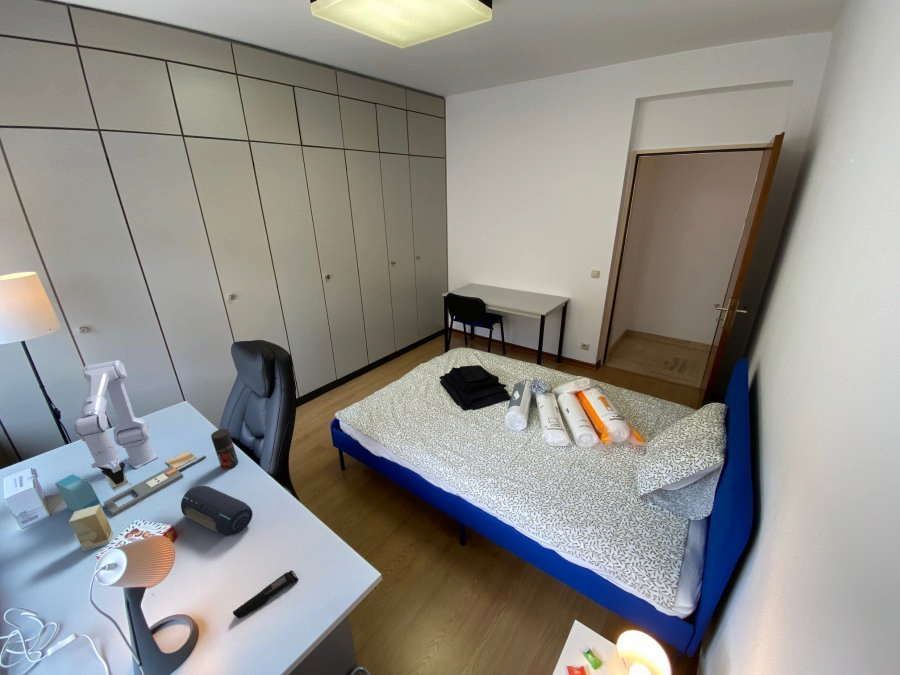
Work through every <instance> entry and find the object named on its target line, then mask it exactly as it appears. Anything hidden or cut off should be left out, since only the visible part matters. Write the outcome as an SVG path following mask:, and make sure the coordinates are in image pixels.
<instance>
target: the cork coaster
mask: <svg viewBox="0 0 900 675" xmlns="http://www.w3.org/2000/svg"><path fill="white" fill-rule="evenodd" d="M197 458H198V457H197V456H196V455H195V454H193V453H192V452H190V451H189V450H186V451H184V452H181V453H180V454H178V455H176V456H174V457H172V458H170V459H168V460H167V461H165V464H167V465H168V466H169V467H170V466H173V467H174V468H175V469H177V470H178V469H180V468H182V467H184V466H186V465H188V464H189V463H190V462H193V461H195V460H197Z"/></svg>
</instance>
